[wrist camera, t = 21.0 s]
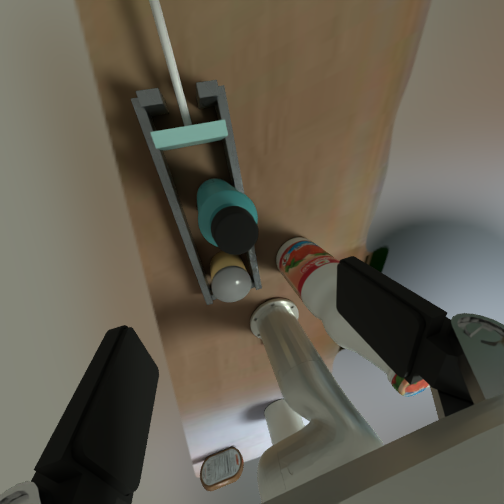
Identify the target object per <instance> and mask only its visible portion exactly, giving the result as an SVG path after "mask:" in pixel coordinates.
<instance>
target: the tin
mask: <svg viewBox="0 0 504 504" xmlns="http://www.w3.org/2000/svg"><path fill="white" fill-rule="evenodd" d="M243 466H244V462H243V457H242V455H241V453H240V452H239V450H238V449H236V448H233V447H231V448H228V449H226V450H223V451H220V452H218V453H215V454H213V455H210V456H209V457H207V458H206V459H205V461H204V462H203V464H202V467H201V471H200V480H201V482H202V485H203V487H204V488H205V489H206V490H207V491H214V490H216V489H218V488H221V487H223V486H226V485H228V484H231V483H233V482H235V481H237V479H239V477H240V476H241V473H242V471H243Z"/></svg>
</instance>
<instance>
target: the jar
mask: <svg viewBox="0 0 504 504" xmlns="http://www.w3.org/2000/svg"><path fill="white" fill-rule="evenodd" d="M210 272H211V281H212V283H211V286H212V292H213V294H214V296H215V297H216V298H217V299H219V300H221V301H223V302H235V301H238V300H240V299H242V298H244V297H245V296H246V295H247V294H248V292H249V291H250V289H251V278H250V276H249V274H248V272H247V271H246V268H245V266H244V264H243V262H242V259H241V257H240V256H239V255H231V254H227V253H225V252H224V251H221V252H219V253H217V254H216V255H215V256H214V257H213V258H212V259H211V262H210Z"/></svg>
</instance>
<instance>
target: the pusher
mask: <svg viewBox="0 0 504 504" xmlns="http://www.w3.org/2000/svg"><path fill="white" fill-rule="evenodd" d="M149 2H150V6H151V10H152V13H153V17H154V20H155V24H156V27H157V31H158V34H159V38H160V41H161V45H162V49H163V52H164V56H165V59H166V63H167V66H168V70H169V73H170V77H171V80H172V84H173V88H174V91H175V95H176V98H177V102H178V105H179V109H180V112H181V116H182V119H183V123H184V127H178V128H172V129H166V130H160V131H154V132H150V133H151V136H152V139H153V141H154V144H155V147H156V149H160V150H171V149H176V148H182V147H187V146H192V145H198V144H203V143H209V142H214V141H219V140H222V139H223V138H225V137H226V136H228V132H227V127H226V122H225V120H219V121H213V122H207V123H202V124H196V125H192V123H191V119H190V115H189V111H188V107H187V104H186V100H185V96H184V92H183V89H182V85H181V81H180V77H179V74H178V70H177V66H176V62H175V59H174V55H173V51H172V47H171V43H170V40H169V36H168V32H167V28H166V25H165V21H164V17H163V13H162V10H161V6H160V2H159V0H149Z"/></svg>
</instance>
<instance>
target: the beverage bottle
mask: <svg viewBox="0 0 504 504" xmlns="http://www.w3.org/2000/svg"><path fill="white" fill-rule="evenodd" d="M225 181H226V180H223V179H222V180H221V179H208V180H207V181H205V182H204V183H203V184H202V185H201V186H200V187H199V189H198V192H197V205H198V214H199V215H198V224H199V229H200V231H201V233H202V235H203V236H204V238H205V239H206V240H207V241H208V242H209V243H211V244H213V245H214V246H216V247H219V248H220V249H221V250H222V251H224V252H225V253H227V254H231V255H239V254H243V253H245V252H247V251H249V250H250V249H251V248H252V247H253V246H254V245H255V243H256V241H257V238H258V226H257V220H258V217H257V211H256V208H255V206H254V204H253V202H252V201H251V200H250V199H249V198H248V197H247V196H246V195H245V194H243V193H241V192H239V191H238V190H237V189H236V188H234V187H233V186H234V185H232V184H231V185H232V186H231V185H230V184H228V183H227V182H225ZM196 207H197V206H196Z"/></svg>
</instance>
